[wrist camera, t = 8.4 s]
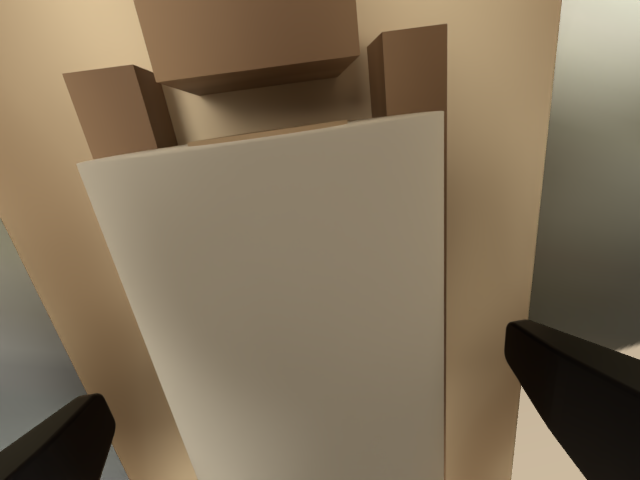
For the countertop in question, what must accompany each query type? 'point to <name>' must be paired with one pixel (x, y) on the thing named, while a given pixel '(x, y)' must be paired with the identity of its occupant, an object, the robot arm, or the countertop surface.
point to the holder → (268, 114)
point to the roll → (291, 294)
